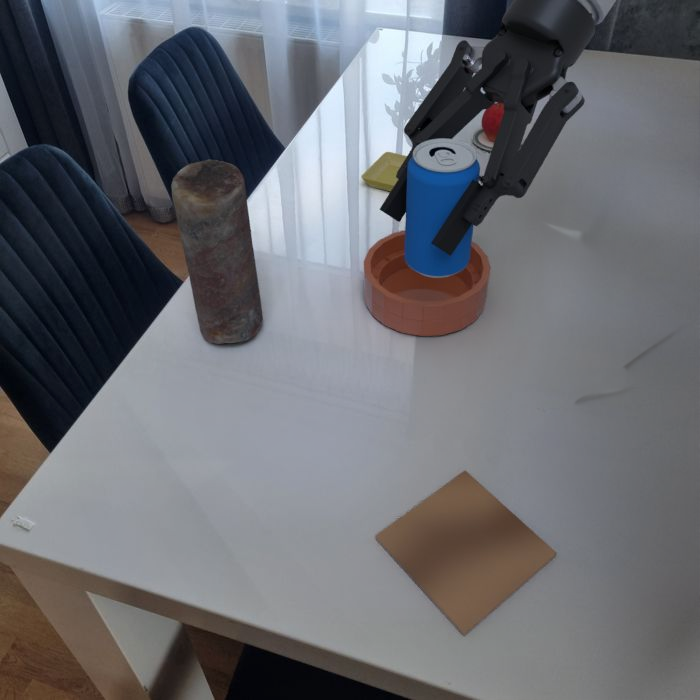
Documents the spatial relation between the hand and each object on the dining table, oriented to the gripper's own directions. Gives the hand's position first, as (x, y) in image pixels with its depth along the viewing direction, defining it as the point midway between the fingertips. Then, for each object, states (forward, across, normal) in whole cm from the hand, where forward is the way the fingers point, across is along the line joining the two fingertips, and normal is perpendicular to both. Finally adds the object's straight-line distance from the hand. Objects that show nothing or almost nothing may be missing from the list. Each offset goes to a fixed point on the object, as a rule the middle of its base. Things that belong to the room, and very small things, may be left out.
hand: (414, 231), depth 64 cm
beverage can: (+2, 0, -6) cm, 6 cm away
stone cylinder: (+21, +17, -3) cm, 27 cm away
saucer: (-5, +29, -29) cm, 41 cm away
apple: (-19, +28, -43) cm, 54 cm away
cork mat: (+20, -20, -4) cm, 29 cm away
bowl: (+6, +7, -18) cm, 20 cm away
